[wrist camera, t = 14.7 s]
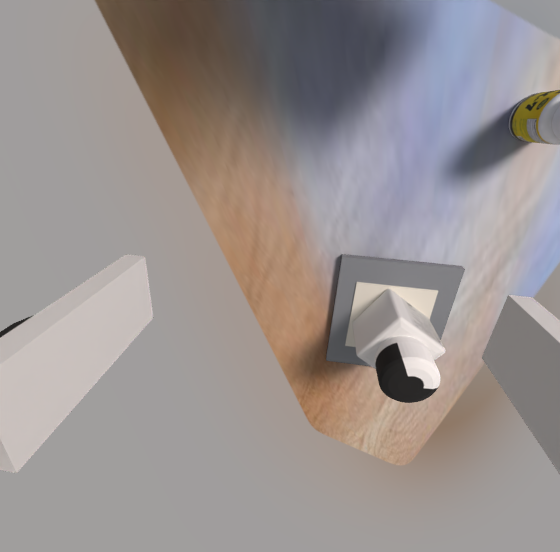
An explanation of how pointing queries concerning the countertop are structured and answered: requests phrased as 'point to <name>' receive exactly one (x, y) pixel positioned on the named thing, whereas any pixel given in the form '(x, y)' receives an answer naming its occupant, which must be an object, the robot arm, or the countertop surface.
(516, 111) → the supplement bottle
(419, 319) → the container
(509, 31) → the countertop surface
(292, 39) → the countertop surface
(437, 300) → the board
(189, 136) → the countertop surface
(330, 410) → the countertop surface
